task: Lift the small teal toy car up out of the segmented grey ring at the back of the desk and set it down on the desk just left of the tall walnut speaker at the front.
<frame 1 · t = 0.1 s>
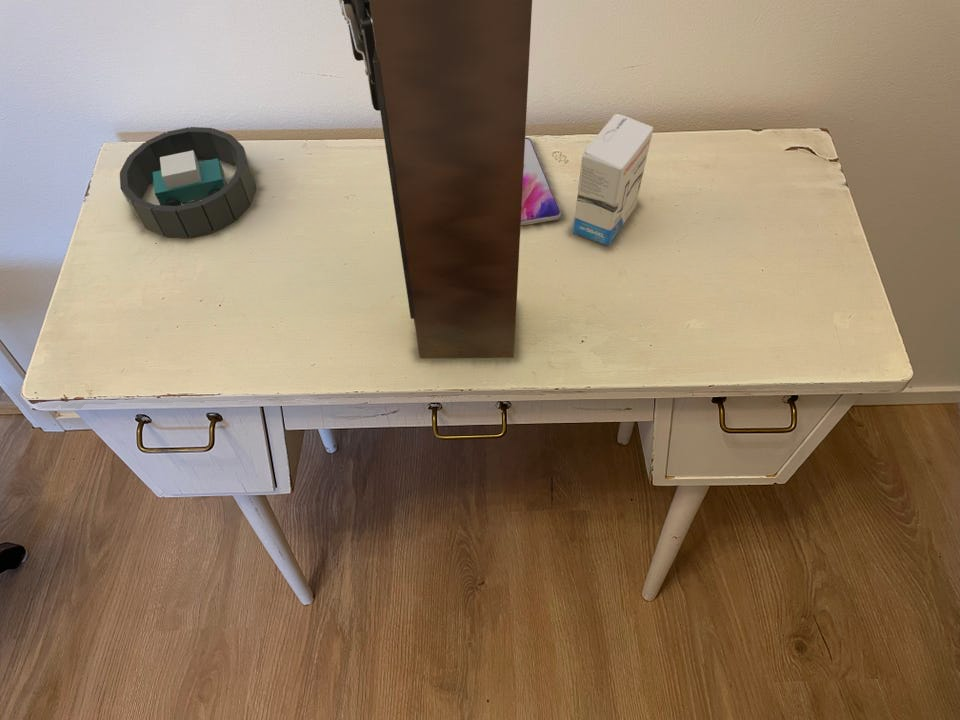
hand: (374, 81, 73), 19 cm above the table, tool pointing down, fingers open, 8 cm apart
segmented grey ring: (195, 194, 91), on the table
speaker: (466, 331, 79), on the table
toy car: (188, 179, 89), in the segmented grey ring
smartphone: (517, 184, 92), on the table
ink box: (604, 219, 88), on the table
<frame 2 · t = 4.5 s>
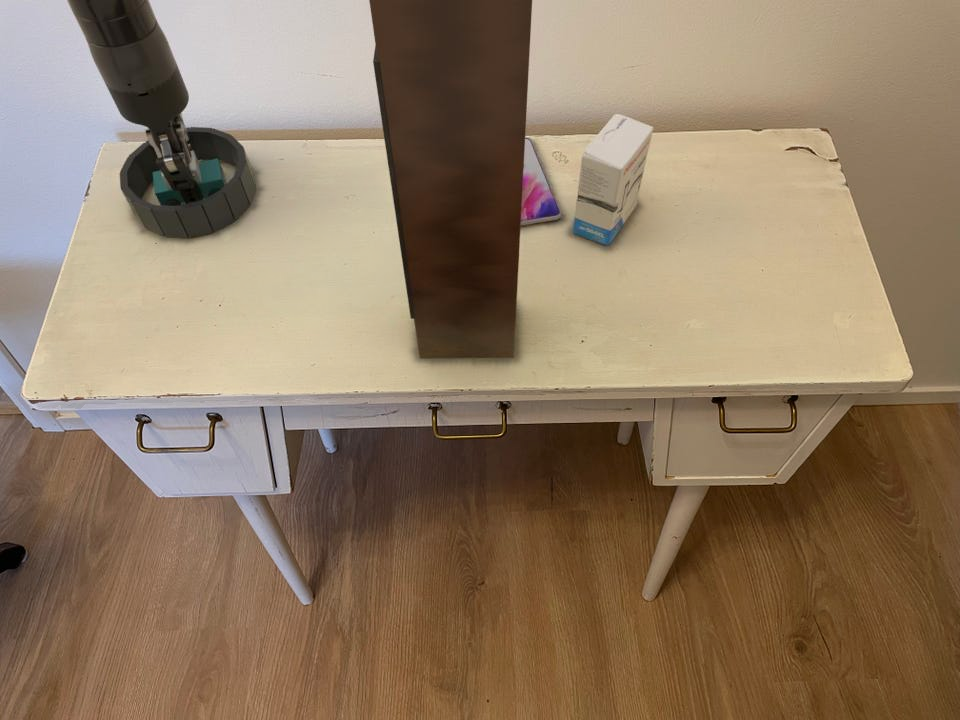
hand: (193, 189, 90), 1 cm above the table, tool pointing down, fingers closed on toy car, 4 cm apart
toy car: (188, 179, 89), in the segmented grey ring, touching gripper
everything else where it was.
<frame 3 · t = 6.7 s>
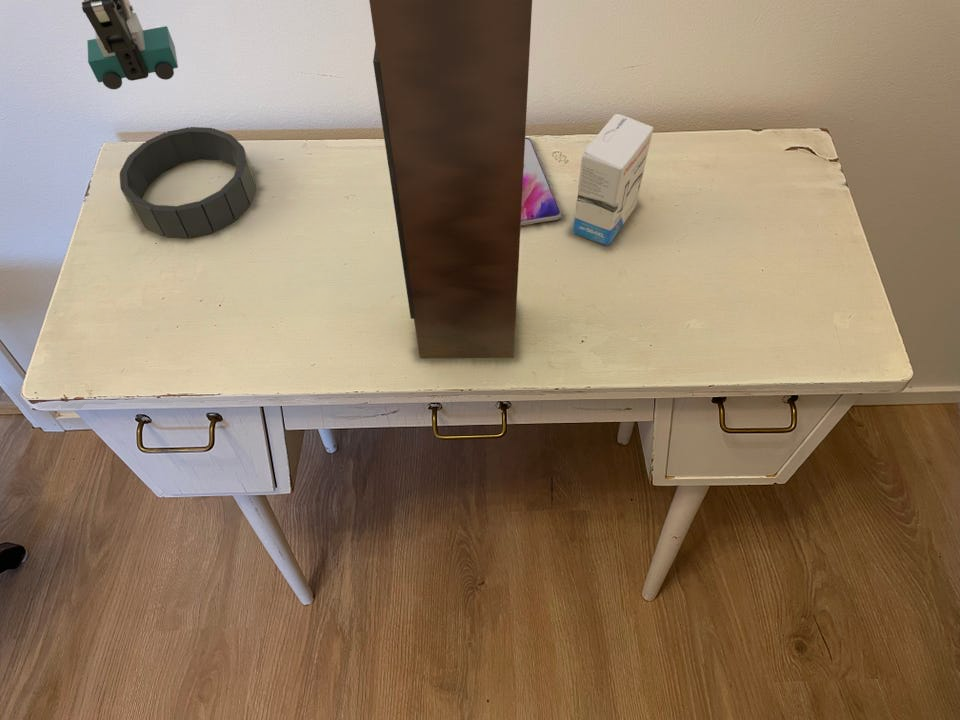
hand: (137, 64, 76), 18 cm above the table, tool pointing down, fingers closed on toy car, 4 cm apart
toy car: (130, 48, 74), point 20 cm above the table, touching gripper
everything else where it was.
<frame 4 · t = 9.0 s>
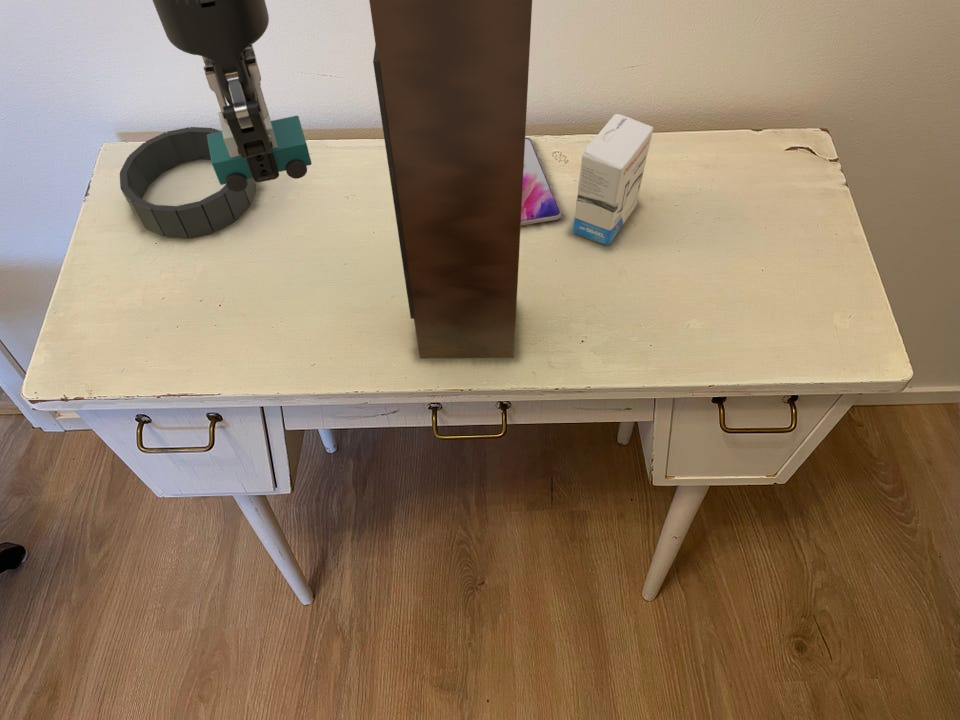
hand: (262, 160, 64), 20 cm above the table, tool pointing down, fingers closed on toy car, 4 cm apart
toy car: (257, 144, 63), point 22 cm above the table, touching gripper
everything else where it was.
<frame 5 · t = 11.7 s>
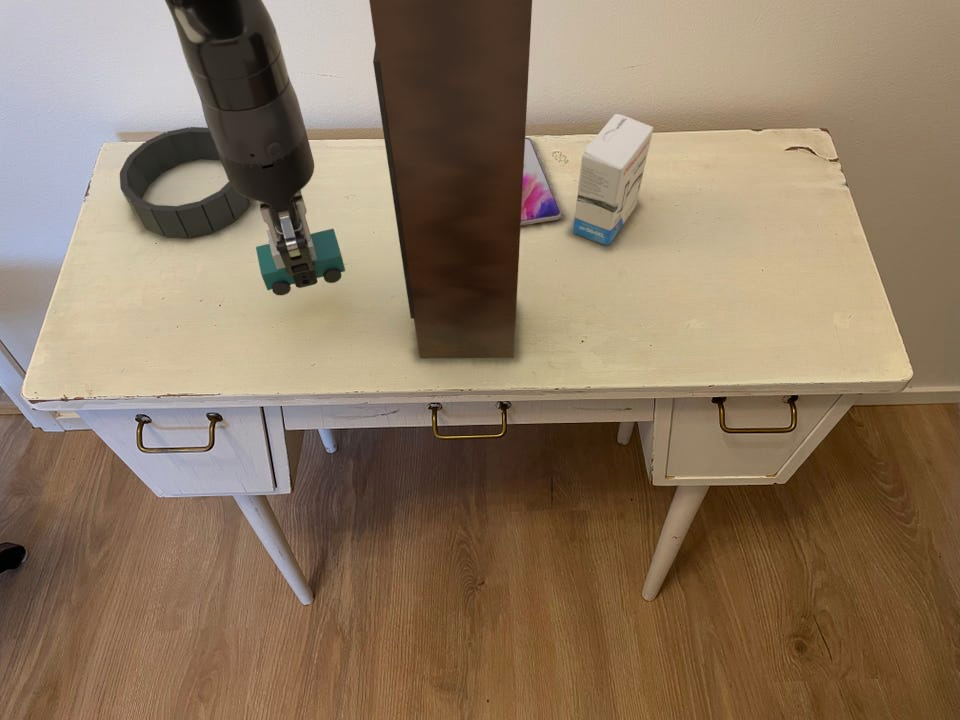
hand: (302, 266, 74), 7 cm above the table, tool pointing down, fingers closed on toy car, 4 cm apart
toy car: (299, 255, 73), point 9 cm above the table, touching gripper
everything else where it was.
when the fingers open (1 cm above the table, at t = 13.6 s): toy car stays where it is, on the table.
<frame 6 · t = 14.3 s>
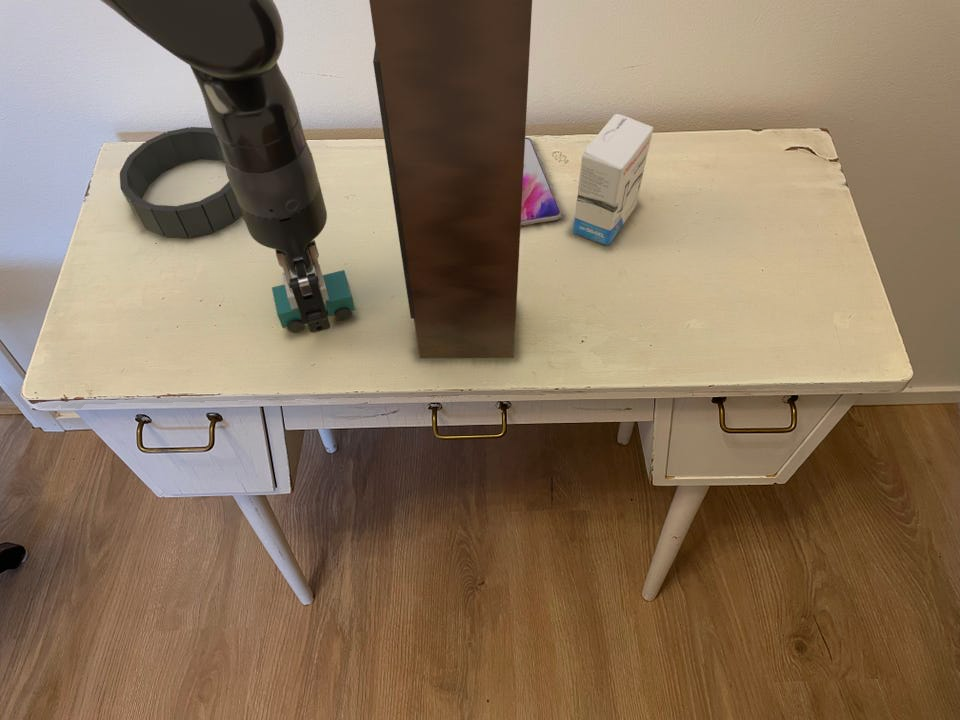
hand: (312, 298, 79), 2 cm above the table, tool pointing down, fingers open, 8 cm apart
toy car: (312, 295, 78), on the table
everything else where it was.
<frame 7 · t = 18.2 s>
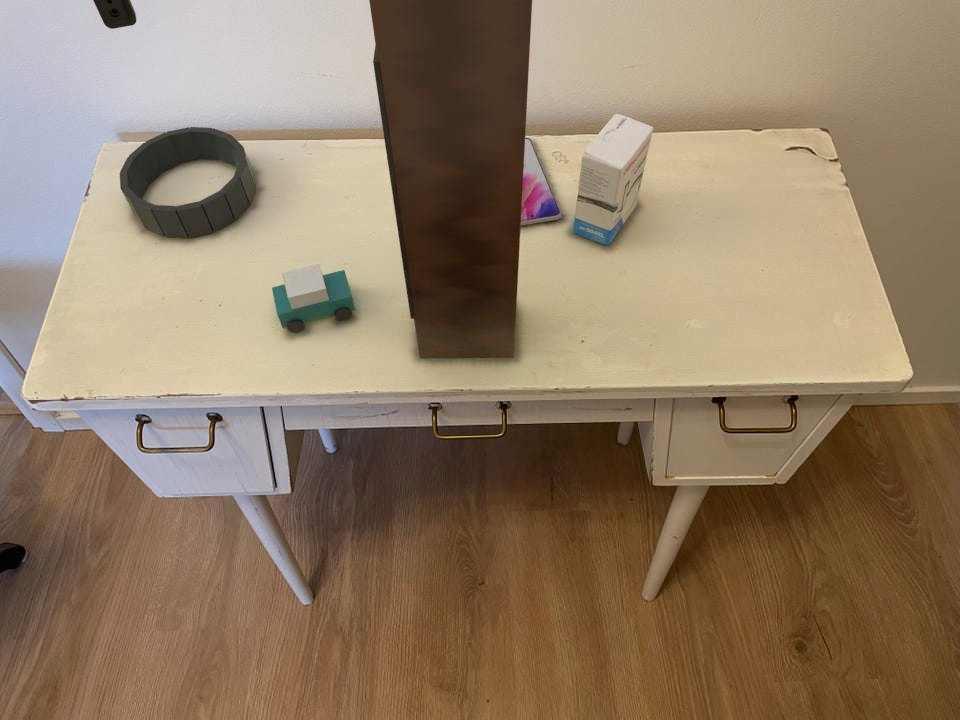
nothing on the table moved.
at the end: toy car inside the target area on the table beside the speaker (0.1 cm from its centre), on the table; toy car tilted 0° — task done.
